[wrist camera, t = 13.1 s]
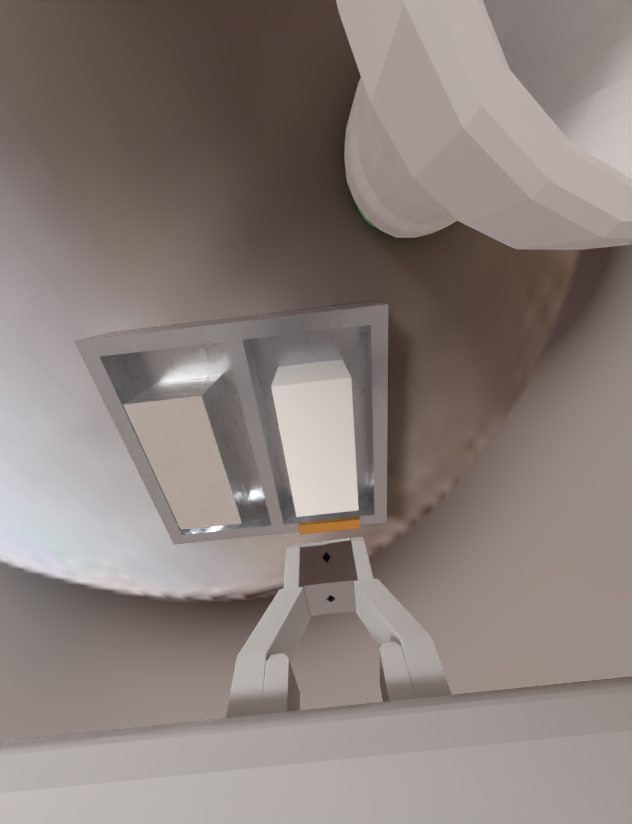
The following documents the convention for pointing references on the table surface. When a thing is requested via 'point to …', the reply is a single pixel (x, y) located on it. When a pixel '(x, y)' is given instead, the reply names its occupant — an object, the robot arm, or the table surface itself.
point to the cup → (493, 119)
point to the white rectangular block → (318, 436)
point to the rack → (240, 415)
